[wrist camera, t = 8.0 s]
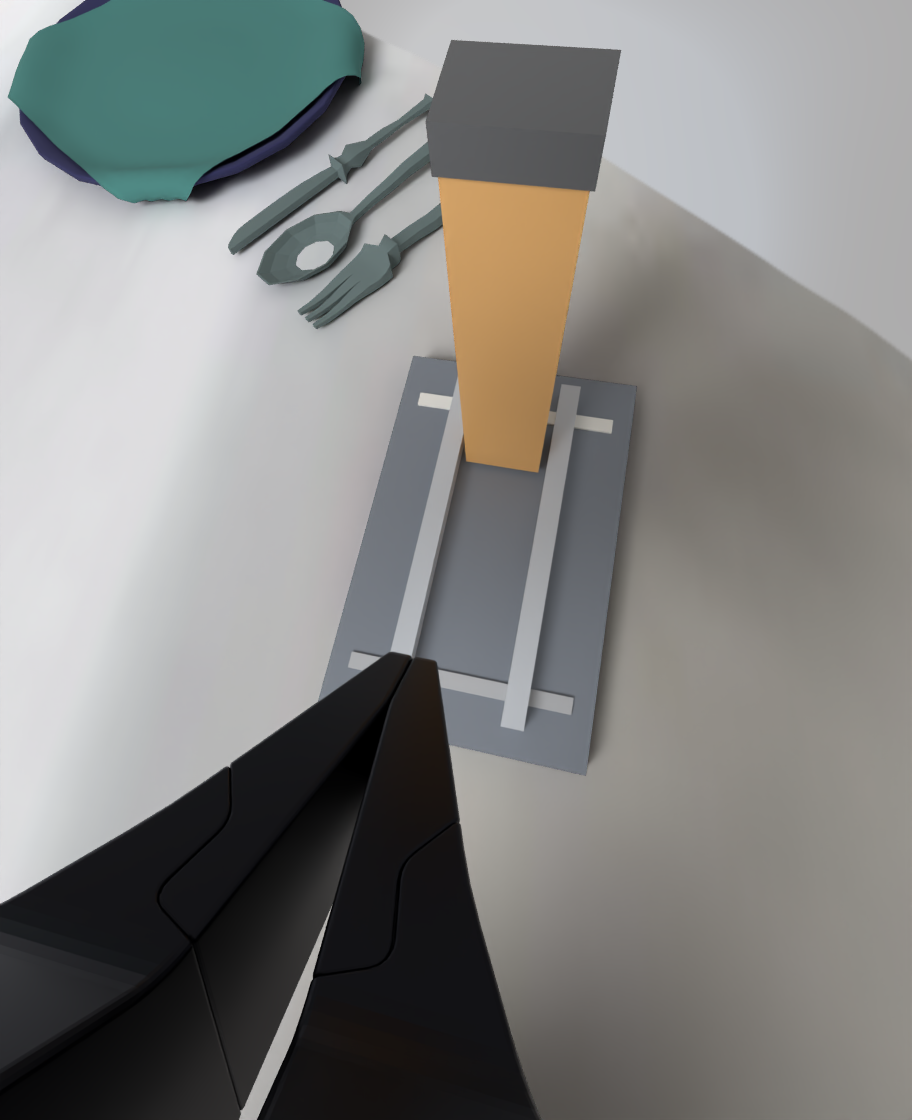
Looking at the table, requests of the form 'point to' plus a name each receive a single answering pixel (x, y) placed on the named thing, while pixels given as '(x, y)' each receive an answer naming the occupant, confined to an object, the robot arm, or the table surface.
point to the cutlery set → (212, 116)
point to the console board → (494, 567)
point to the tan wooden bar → (514, 224)
